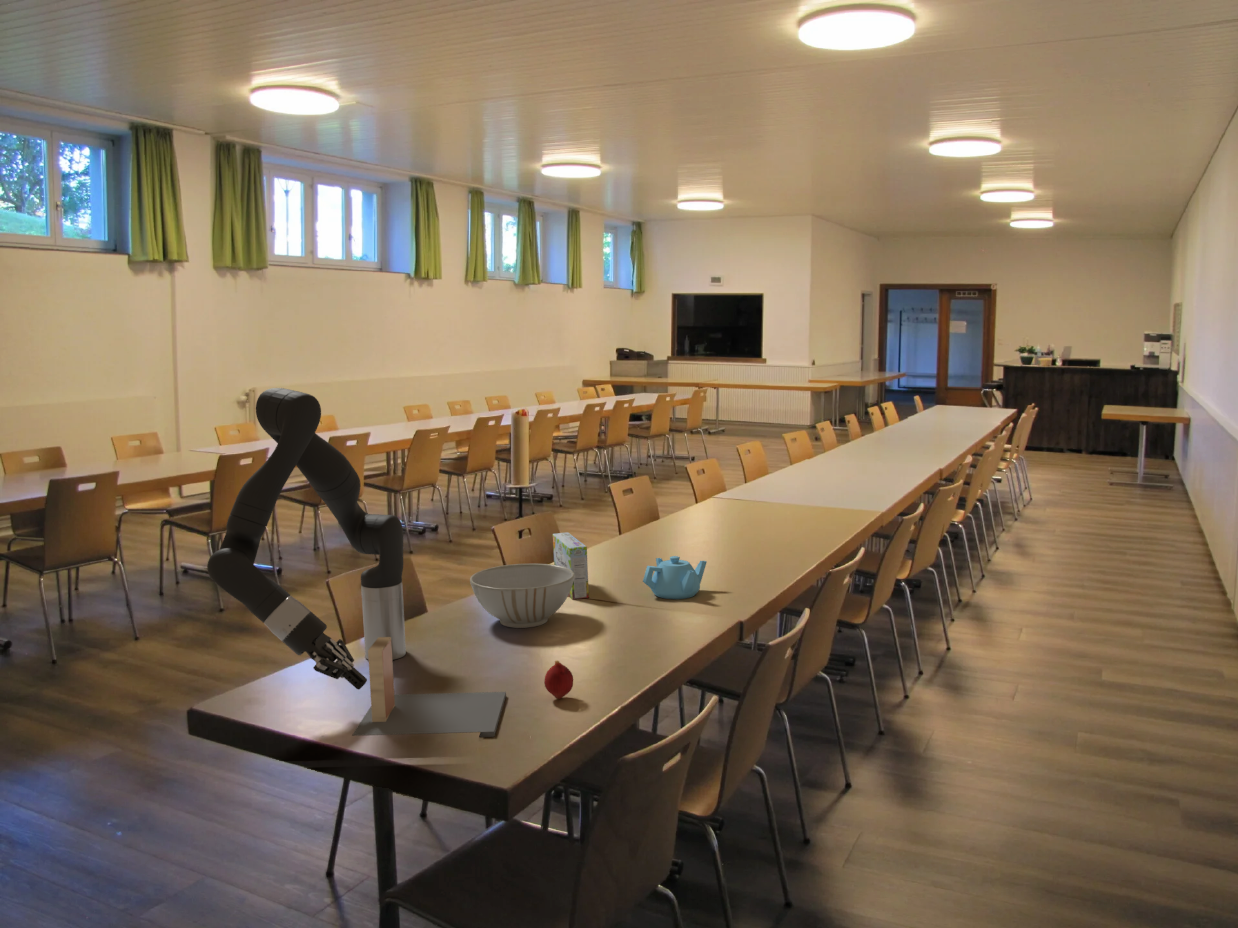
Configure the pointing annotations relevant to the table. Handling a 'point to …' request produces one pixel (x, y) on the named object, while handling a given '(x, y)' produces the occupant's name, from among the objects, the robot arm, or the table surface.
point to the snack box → (572, 562)
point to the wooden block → (381, 679)
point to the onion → (558, 680)
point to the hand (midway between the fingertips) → (363, 684)
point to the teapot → (674, 578)
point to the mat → (439, 714)
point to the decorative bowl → (522, 592)
